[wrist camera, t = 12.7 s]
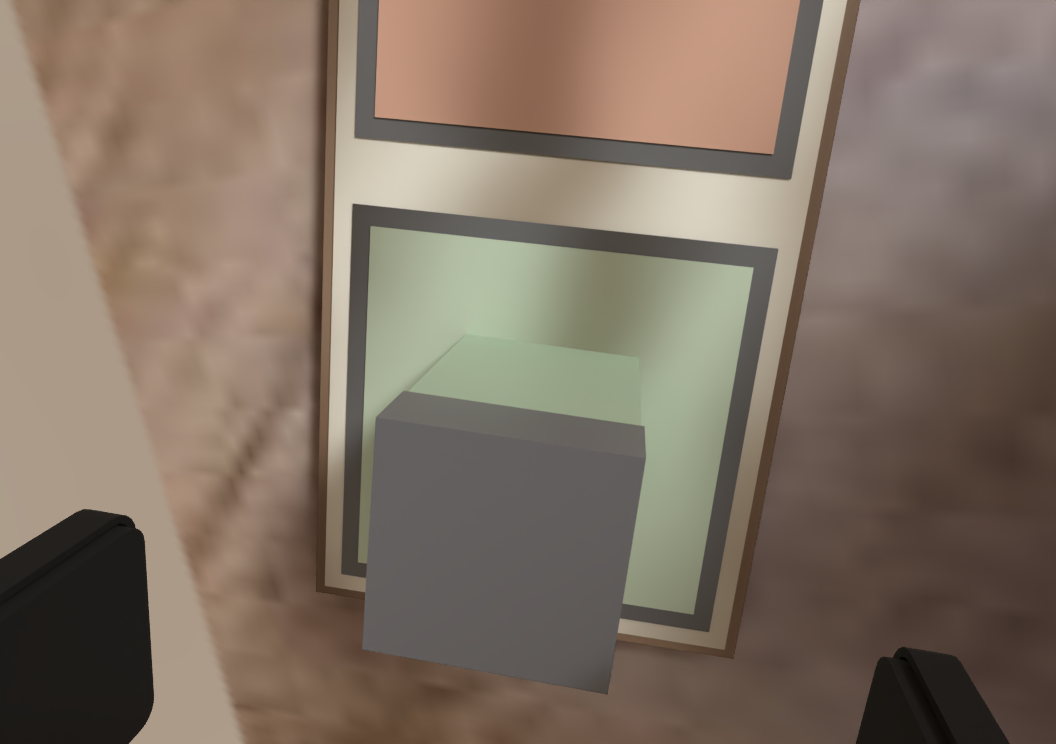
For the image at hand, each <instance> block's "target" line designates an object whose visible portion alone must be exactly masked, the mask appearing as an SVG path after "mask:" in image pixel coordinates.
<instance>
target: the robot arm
mask: <svg viewBox="0 0 1056 744" xmlns="http://www.w3.org/2000/svg"><path fill="white" fill-rule="evenodd" d="M153 703H154V690H153V674H152V658H151V640H150V623H149V607H148V589H147V573H146V556H145V541H144V536H143V534H142V532H141V531H140V530H138V529H136V528H135V524H134V522H133V521H132V519H131V518H129V517H128V516H125V515H119V514H114V513H107V512H102V511H96V510H89V509H84V510H81V511H79V512H76V513H74V514H73V515H71V516H69V517H68V518H66V519H65V520H63V521H61V522H60V523H58V524H57V525H55V526H53V527H52V528H50V529H49V530H47V531H45V532H43V533H42V534H40V535H39V536H37V537H35V538H34V539H32V540H30V541H29V542H27V543H26V544H24V545H23V546H21V547H19V548H17V549H16V550H14V551H13V552H11V553H9V554H8V555H6V556H5V557H3V558H1V559H0V744H129V743H130V742H131V740H132V739H133V738H134V737H135V736H136V735H137V734H138V733H139V731H140V730H141V729H142V728H143V727H144V725H145V724H146V722H147V720H148V718H149V716H150V713H151V711H152V707H153ZM856 744H1009V742H1008V740H1007V739H1006V737H1005V735H1004V734H1003V732H1002V730H1001V729H1000V727H999V725H998V724H997V722H996V720H995V719H994V717H993V715H992V714H991V712H990V710H989V709H988V707H987V705H986V704H985V702H984V700H983V699H982V697H981V695H980V694H979V692H978V691H977V689H976V687H975V686H974V684H973V682H972V681H971V679H970V677H969V676H968V674H967V672H966V671H965V669H964V667H963V666H962V664H961V662H960V661H959V660H958V659H957V658H956V657H955V656H952V655H948V654H942V653H936V652H930V651H924V650H918V649H912V648H906V647H901V648H899V649H898V650H897V652H896V653H895V654H894V657H893V658H889V657H882V658H880V660H879V661H878V663H877V666H876V669H875V673H874V677H873V680H872V684H871V688H870V692H869V696H868V699H867V703H866V707H865V711H864V715H863V719H862V722H861V726H860V730H859V734H858V738H857V741H856Z"/></svg>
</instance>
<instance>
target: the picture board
mask: <svg viewBox="0 0 1056 744" xmlns="http://www.w3.org/2000/svg"><path fill="white" fill-rule="evenodd" d="M859 6H860V0H329V9H328V55H327V102H326V149H325V196H324V242H323V289H322V336H321V383H320V429H319V476H318V523H317V570H316V592H322V593H328V594H335V595H341V596H347V597H353V598H359V599H365V589H366V572H367V556H368V539H369V522H370V505H371V488H372V471H373V454H374V437H375V420H376V417H377V416H378V415H379V414H380V413H381V412H382V411H383V410H384V409H385V408H386V407H387V406H388V405H389V404H390V403H391V402H392V401H393V400H394V399H395V398H396V397H397V396H398V395H399V394H400V393H402V392H403V391H409V390H410V389H411V388H412V387H413V386H414V385H415V384H416V383H417V382H418V381H419V380H420V379H421V378H422V377H423V376H424V375H425V374H426V373H427V372H428V371H429V370H430V369H431V368H432V367H433V366H434V365H435V364H436V363H437V362H438V361H439V360H440V359H441V358H442V357H443V356H444V355H445V354H446V353H447V352H448V351H450V350H451V349H452V348H453V347H454V346H455V345H456V344H457V343H458V342H459V341H460V340H461V339H462V338H463V337H464V336H465V335H466V334H472V335H479V336H486V337H493V338H500V339H508V340H515V341H522V342H529V343H536V344H544V345H551V346H558V347H565V348H572V349H580V350H587V351H594V352H601V353H608V354H616V355H623V356H630V357H637V358H639V368H640V399H641V426H645V445H646V462H645V468H644V474H643V480H642V487H641V493H640V499H639V505H638V511H637V517H636V523H635V529H634V535H633V542H632V548H631V554H630V560H629V566H628V572H627V578H626V584H625V591H624V597H623V603H622V609H621V615H620V621H619V627H618V633H617V640H620V641H626V642H632V643H638V644H645V645H651V646H657V647H663V648H669V649H676V650H682V651H688V652H694V653H700V654H707V655H713V656H719V657H725V658H731V659H733V658H734V653H735V648H736V643H737V637H738V632H739V627H740V622H741V617H742V612H743V606H744V601H745V596H746V591H747V586H748V580H749V575H750V570H751V565H752V560H753V555H754V549H755V544H756V539H757V534H758V529H759V524H760V518H761V513H762V508H763V503H764V498H765V492H766V487H767V482H768V477H769V472H770V467H771V461H772V456H773V451H774V446H775V441H776V435H777V430H778V425H779V420H780V415H781V410H782V404H783V399H784V394H785V389H786V384H787V378H788V373H789V368H790V363H791V358H792V353H793V347H794V342H795V337H796V332H797V327H798V322H799V316H800V311H801V306H802V301H803V296H804V290H805V285H806V280H807V275H808V270H809V265H810V259H811V254H812V249H813V244H814V239H815V233H816V228H817V223H818V218H819V213H820V208H821V202H822V197H823V192H824V187H825V182H826V176H827V171H828V166H829V161H830V156H831V151H832V145H833V140H834V135H835V130H836V125H837V119H838V114H839V109H840V104H841V99H842V94H843V88H844V83H845V78H846V73H847V68H848V63H849V57H850V52H851V47H852V42H853V37H854V31H855V26H856V21H857V16H858V11H859Z"/></svg>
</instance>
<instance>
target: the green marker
mask: <svg viewBox="0 0 1056 744" xmlns="http://www.w3.org/2000/svg"><path fill="white" fill-rule="evenodd" d="M645 462H646V445H645V426H641V399H640V368H639V358H637V357H630V356H623V355H616V354H608V353H601V352H594V351H587V350H580V349H572V348H565V347H558V346H551V345H544V344H536V343H529V342H522V341H515V340H508V339H500V338H493V337H486V336H479V335H472V334H466V335H465V336H464V337H463V338H462V339H461V340H460V341H459V342H458V343H457V344H456V345H455V346H454V347H453V348H452V349H451V350H450V351H448V352H447V353H446V354H445V355H444V356H443V357H442V358H441V359H440V360H439V361H438V362H437V363H436V364H435V365H434V366H433V367H432V368H431V369H430V370H429V371H428V372H427V373H426V374H425V375H424V376H423V377H422V378H421V379H420V380H419V381H418V382H417V383H416V384H415V385H414V386H413V387H412V388H411V389H410V390H409V391H403V392H402V393H400V394H399V395H398V396H397V397H396V398H395V399H394V400H393V401H392V402H391V403H390V404H389V405H388V406H387V407H386V408H385V409H384V410H383V411H382V412H381V413H380V414H379V415H378V416H377V417H376V420H375V437H374V454H373V471H372V488H371V505H370V522H369V539H368V556H367V572H366V589H365V606H364V623H363V640H362V650H367V651H373V652H378V653H384V654H389V655H395V656H400V657H406V658H411V659H417V660H422V661H428V662H433V663H438V664H444V665H449V666H455V667H460V668H466V669H471V670H477V671H482V672H488V673H493V674H499V675H504V676H510V677H515V678H520V679H526V680H531V681H537V682H542V683H548V684H553V685H559V686H564V687H570V688H575V689H581V690H586V691H591V692H597V693H602V694H608V689H609V682H610V676H611V670H612V664H613V658H614V652H615V646H616V640H617V633H618V627H619V621H620V615H621V609H622V603H623V597H624V591H625V584H626V578H627V572H628V566H629V560H630V554H631V548H632V542H633V535H634V529H635V523H636V517H637V511H638V505H639V499H640V493H641V487H642V480H643V474H644V468H645Z"/></svg>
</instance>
